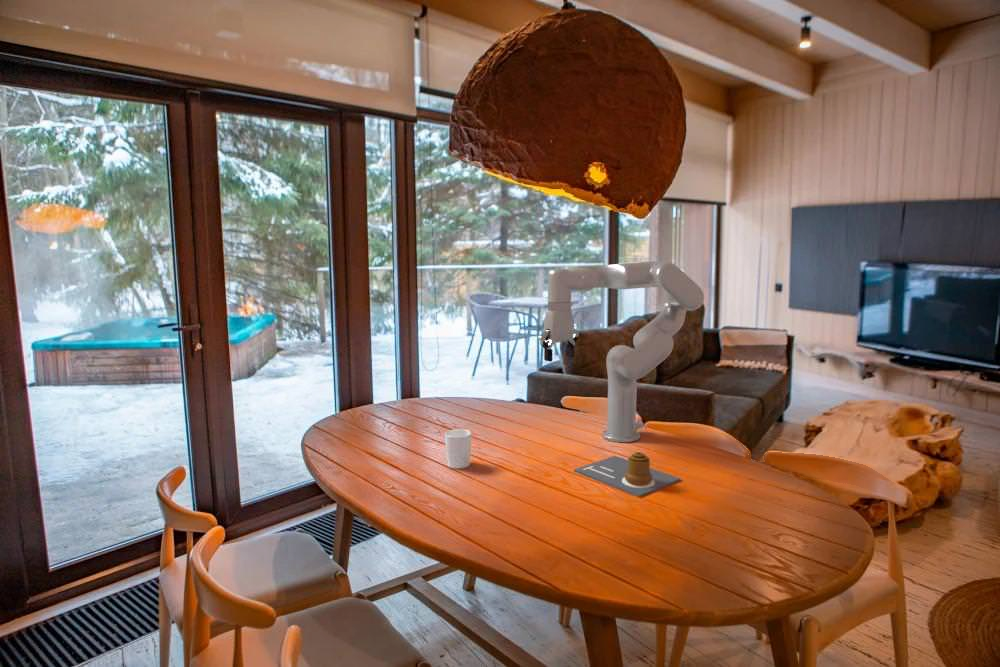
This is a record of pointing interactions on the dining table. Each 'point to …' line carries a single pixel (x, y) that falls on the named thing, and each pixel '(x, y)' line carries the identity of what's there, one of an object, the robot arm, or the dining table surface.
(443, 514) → the dining table surface
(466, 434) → the white cup
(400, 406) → the dining table surface
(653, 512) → the dining table surface
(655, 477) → the slate board
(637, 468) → the ornamental finial
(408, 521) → the dining table surface
